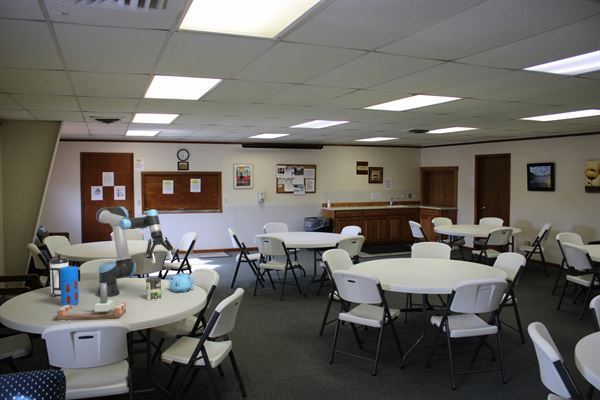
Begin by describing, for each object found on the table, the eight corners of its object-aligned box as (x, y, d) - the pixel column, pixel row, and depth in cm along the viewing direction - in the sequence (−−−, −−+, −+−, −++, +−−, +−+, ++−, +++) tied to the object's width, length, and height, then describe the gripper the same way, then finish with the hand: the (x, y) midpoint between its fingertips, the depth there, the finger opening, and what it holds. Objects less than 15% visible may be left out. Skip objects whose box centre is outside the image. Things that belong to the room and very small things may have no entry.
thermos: (82, 302, 313) (81, 266, 312) (70, 307, 303) (68, 269, 301) (70, 301, 316) (68, 266, 315) (57, 305, 306) (56, 269, 305)
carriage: (100, 307, 287) (99, 281, 286) (113, 306, 288) (112, 281, 287) (94, 311, 277) (93, 285, 276) (108, 311, 278) (107, 285, 277)
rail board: (65, 314, 287) (64, 303, 287) (127, 311, 291) (127, 301, 291) (55, 321, 273) (55, 310, 273) (121, 318, 277) (120, 307, 277)
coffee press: (42, 296, 331) (41, 255, 329) (61, 291, 345) (60, 252, 344) (60, 298, 324) (58, 257, 323) (78, 293, 339) (77, 253, 337)
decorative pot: (196, 291, 342) (195, 273, 342) (175, 294, 333) (175, 276, 332) (187, 287, 355) (187, 269, 355) (167, 290, 346) (166, 272, 345)
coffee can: (164, 297, 326) (163, 277, 325) (156, 301, 316) (156, 280, 315) (151, 296, 328) (150, 277, 327) (143, 300, 318) (142, 280, 317)
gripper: (142, 232, 304) (149, 263, 301) (174, 228, 323) (180, 257, 320) (136, 234, 308) (143, 265, 305) (168, 231, 328) (174, 259, 325)
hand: (162, 261), depth 313 cm, fingers open, 13 cm apart
